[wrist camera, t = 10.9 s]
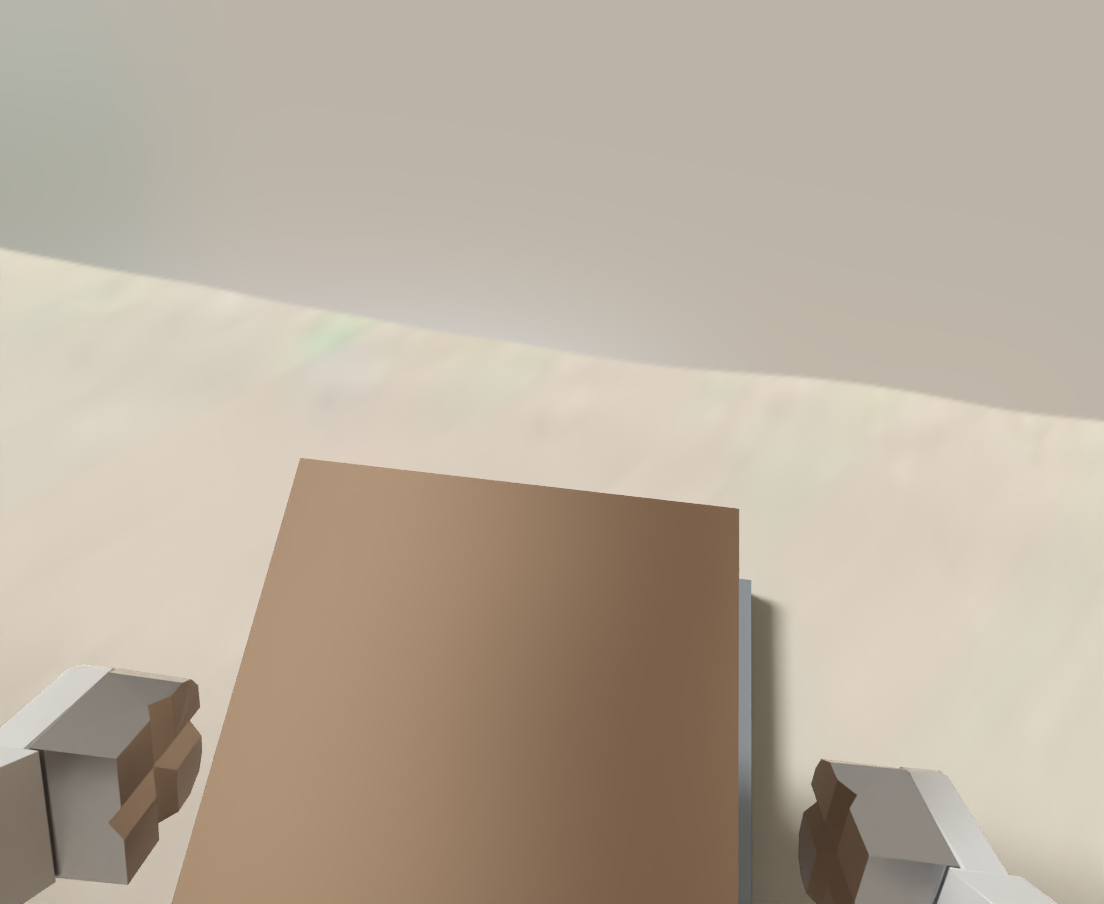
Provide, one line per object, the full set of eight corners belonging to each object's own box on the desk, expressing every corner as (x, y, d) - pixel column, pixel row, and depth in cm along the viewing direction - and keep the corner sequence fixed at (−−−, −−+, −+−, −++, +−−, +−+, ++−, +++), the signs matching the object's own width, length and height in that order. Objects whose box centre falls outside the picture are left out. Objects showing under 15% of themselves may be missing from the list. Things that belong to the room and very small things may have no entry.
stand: (197, 1138, 17) (79, 1247, 12) (345, 542, 23) (303, 472, 19) (739, 1213, 17) (819, 1354, 12) (742, 590, 23) (795, 531, 18)
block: (358, 986, 14) (71, 1251, 5) (419, 658, 17) (300, 457, 8) (601, 1018, 14) (736, 1342, 5) (624, 683, 17) (738, 509, 8)
